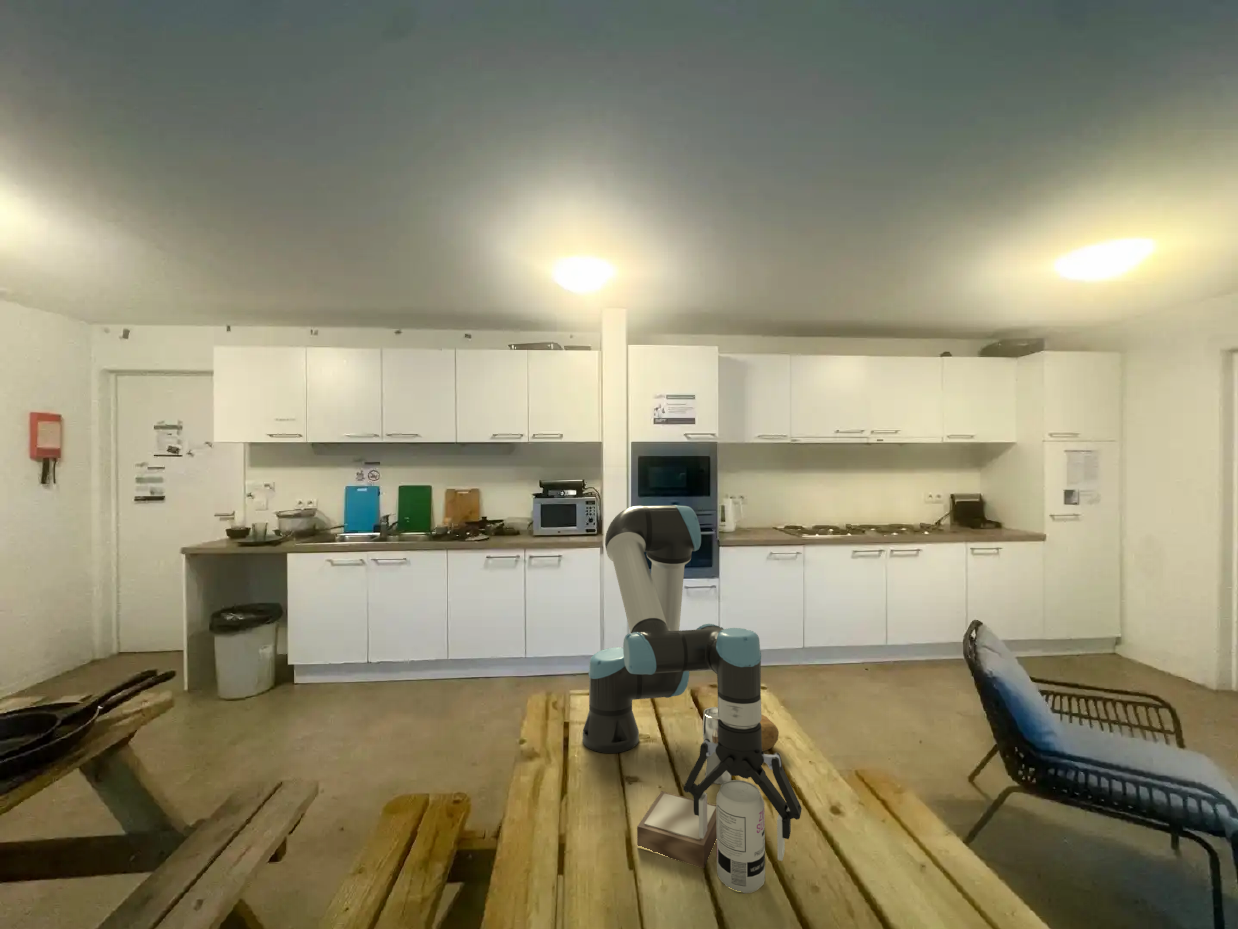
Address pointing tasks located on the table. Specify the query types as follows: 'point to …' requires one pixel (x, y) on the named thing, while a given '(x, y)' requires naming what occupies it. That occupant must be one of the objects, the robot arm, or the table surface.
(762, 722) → the potato
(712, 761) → the metal tumbler
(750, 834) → the supplement can
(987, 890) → the table surface
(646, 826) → the base
